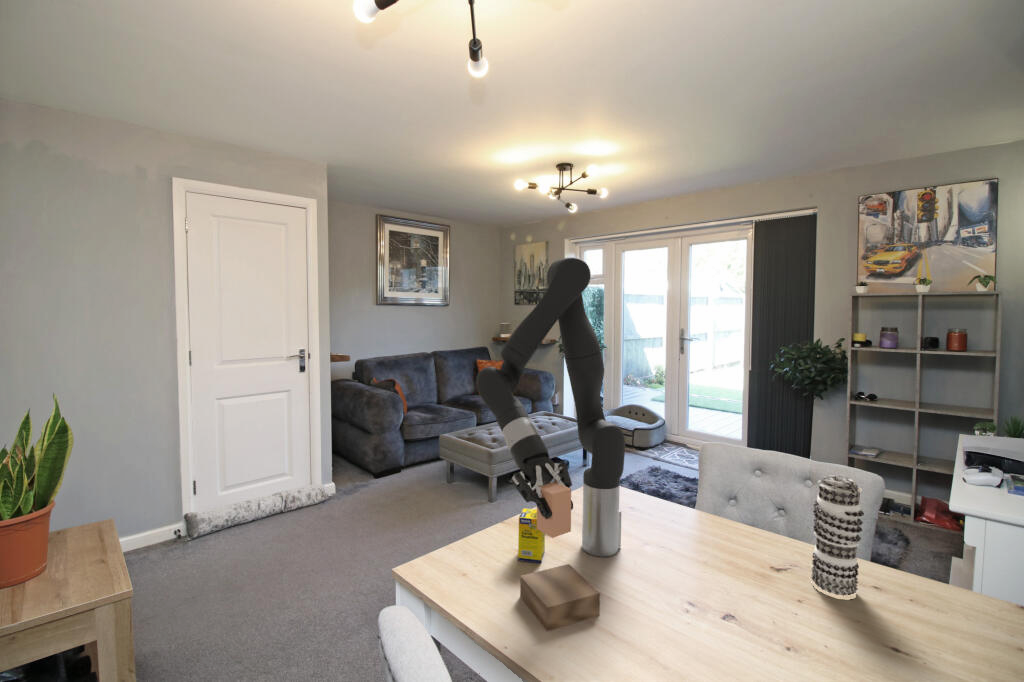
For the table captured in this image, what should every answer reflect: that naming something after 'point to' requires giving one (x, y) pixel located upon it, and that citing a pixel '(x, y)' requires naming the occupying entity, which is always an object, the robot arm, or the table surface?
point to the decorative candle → (837, 535)
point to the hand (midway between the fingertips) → (559, 513)
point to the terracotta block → (556, 510)
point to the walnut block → (559, 596)
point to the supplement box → (530, 537)
